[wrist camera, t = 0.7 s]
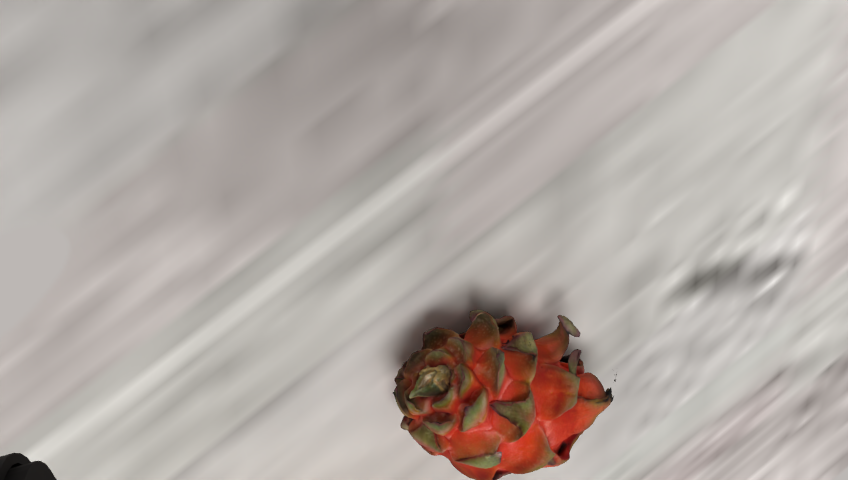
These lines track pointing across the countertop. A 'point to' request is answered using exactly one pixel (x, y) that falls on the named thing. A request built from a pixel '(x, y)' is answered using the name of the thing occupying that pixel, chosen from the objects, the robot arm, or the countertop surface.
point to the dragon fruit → (498, 397)
